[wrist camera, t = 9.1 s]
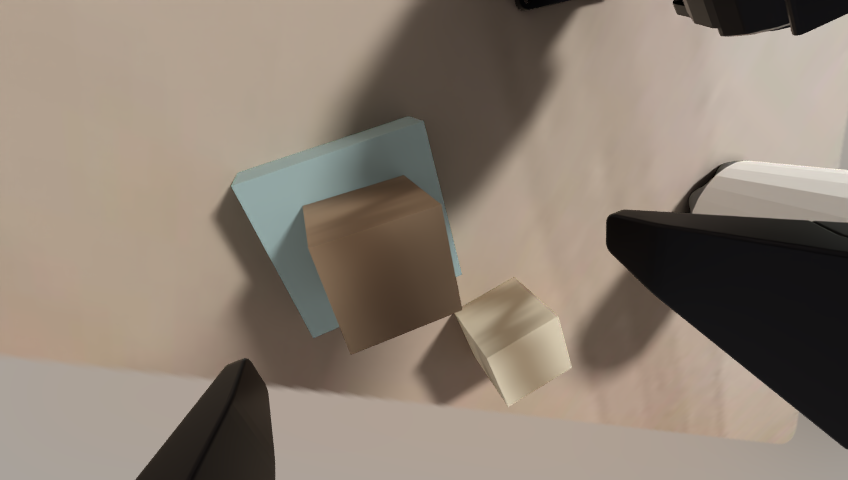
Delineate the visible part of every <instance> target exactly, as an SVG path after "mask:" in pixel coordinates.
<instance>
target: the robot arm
mask: <svg viewBox="0 0 848 480" xmlns="http://www.w3.org/2000/svg"><path fill="white" fill-rule="evenodd" d="M565 1H569V0H528V2H527V4H526V3H525V2H524V0H515V2H516V6H517V7H518V9H520V10H521V11H526V10H530V9H534V8H539V7H543V6H547V5H552V4H556V3H561V2H565ZM673 5H674V8H675V10H676V13H677V14H678V15H682V16H686V17H691V19H692V20H693V21H694V23H696V24H699V25H703V26H707V27H710V28H718V31H719V34H720V36H742V35H752V34H757V33H761V32H766V31H775V30H780V29H784V28H788V27H791V32H792V34H793V35H802V34H804V33H806V32H809V31H811V30H813V29H815V28H817V27H820V26H822V25H824V24H826V23H828V22H830V21H833V20H835V19H837V18H839V17H841V16H843V15H846V14H848V0H674V1H673ZM606 245H607V248H608V250H609V251H610V253H611V254H612V255H613V256H614V257H615V258H616V259H617V260H618V261H619V262H620V263H622V264H623V265H624V266H625V267H626V268H627V269H628V270H629V271H630V272H631V273H632V274H633V275H634V276H635V277H636V278H637V279H638V280H639V281H640V282H641V283H642V284H643V285H644V286H645V287H646V288H647V289H648V290H649V291H651V292H652V293H653V294H654V295H655V296H656V297H658V298H659V299H660V300H661V301H662V302H664V303H665V304H666V305H667V306H669V307H670V308H671V309H672V310H674V311H675V312H676V313H677V314H679V315H680V316H681V317H682V318H684V319H685V320H686V321H687V322H688V323H690V324H691V325H692V326H693V327H695V328H696V329H697V330H698V331H700V332H701V333H702V334H703V335H705V336H706V337H707V338H708V339H710V340H711V341H712V342H713V343H715V344H716V345H717V346H718V347H720V348H721V349H722V350H723V351H725V352H726V353H727V354H728V355H729V356H731V357H732V358H733V359H734V360H736V361H737V362H738V363H739V364H741V365H742V366H743V367H744V368H746V369H747V370H748V371H749V372H751V373H752V374H753V375H754V376H756V377H757V378H758V379H759V380H761V381H762V382H763V383H764V384H766V385H767V386H768V387H769V388H771V389H772V390H773V391H774V392H775V393H777V394H778V395H779V396H780V397H782V398H783V399H784V400H785V401H787V402H788V403H789V404H790V405H792V406H793V407H794V408H795V409H797V410H798V411H799V412H800V413H802V414H803V415H804V416H805V417H807V418H808V419H809V420H810V421H812V422H813V423H814V424H815V425H816V426H818V427H819V428H820V429H822V430H823V431H824V432H825V433H827V434H828V435H829V436H830V437H831V438H833V439H834V440H835V441H837V442H838V443H839V444H840V445H841V446H843V447H844V448H845V449H848V222H830V221H812V222H811V221H809V220H794V219H777V218H760V217H743V216H726V215H708V214H691V213H674V212H657V211H640V210H621V211H618V212H616V213H613V214H611V215H609V216H608V218H607V221H606ZM270 416H271V415H270V406H269V396H268V390H267V387H266V385H265V383H264V381H263V380H262V378H261V376H260V375H259V373H258V372H257V370H256V369H255V367H254V365H253V364H252V362H251V361H250V360H249V359H246V358H244V359H241V360H239V361H236V362H233V363H231V364H228V365H227V366H226V367H225V368H224V369H223V370H222V371H221V373H220V374H219V375H218V376H217V378H216V379H215V380H214V381H213V383H212V384H211V385H210V386H209V388H208V389H207V390H206V392H205V393H204V394H203V395H202V397H201V398H200V399H199V400H198V402H197V403H196V404H195V405H194V407H193V408H192V409H191V411H190V412H189V413H188V414H187V415H186V417H185V418H184V419H183V421H182V422H181V423H180V424H179V426H178V427H177V428H176V430H175V431H174V432H173V433H172V435H171V436H170V437H169V438H168V440H167V441H166V442H165V443H164V445H163V446H162V447H161V448H160V449H159V451H158V452H157V454H156V455H155V456H154V457H153V458H152V460H151V461H150V462H149V464H148V465H147V466H146V467H145V468H144V470H143V471H142V472H141V473H140V475H139V476H138V477H137V478H136V480H275V456H274V445H273V435H272V425H271V417H270Z"/></svg>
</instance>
